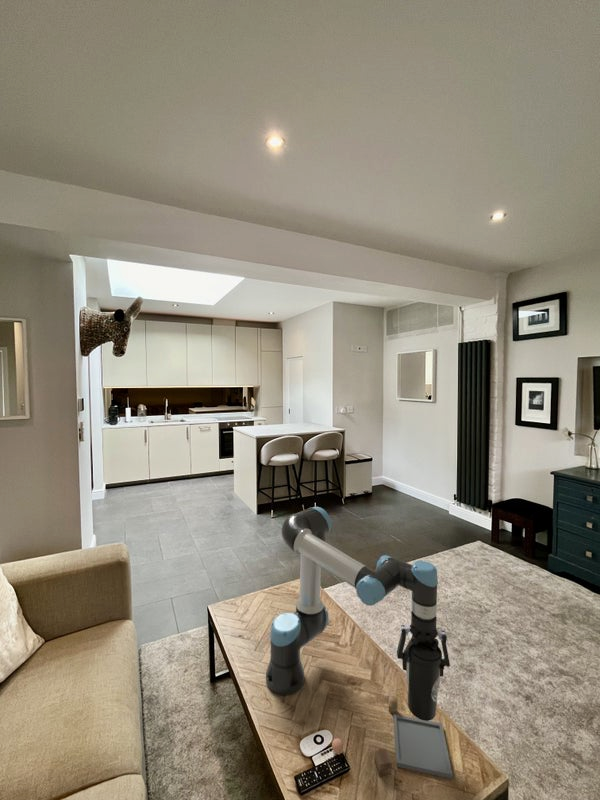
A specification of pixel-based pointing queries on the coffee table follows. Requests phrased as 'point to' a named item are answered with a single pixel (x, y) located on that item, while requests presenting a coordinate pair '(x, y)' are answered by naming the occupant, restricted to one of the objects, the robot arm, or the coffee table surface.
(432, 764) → the tray
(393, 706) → the cylinder
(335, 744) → the rubber ball
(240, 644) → the coffee table surface
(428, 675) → the water bottle
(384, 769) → the walnut cube
